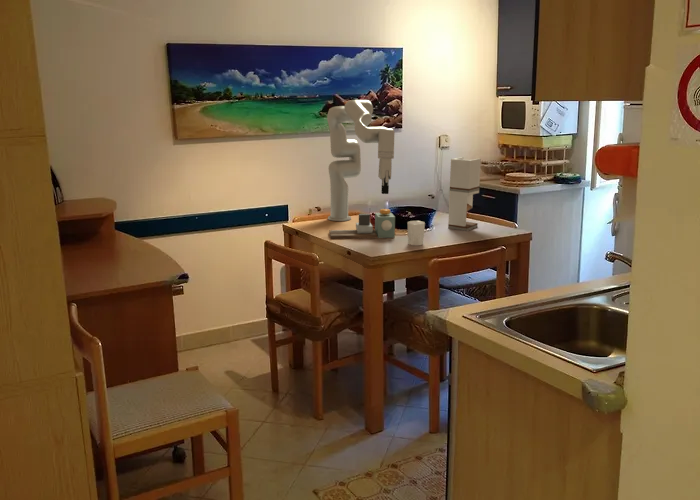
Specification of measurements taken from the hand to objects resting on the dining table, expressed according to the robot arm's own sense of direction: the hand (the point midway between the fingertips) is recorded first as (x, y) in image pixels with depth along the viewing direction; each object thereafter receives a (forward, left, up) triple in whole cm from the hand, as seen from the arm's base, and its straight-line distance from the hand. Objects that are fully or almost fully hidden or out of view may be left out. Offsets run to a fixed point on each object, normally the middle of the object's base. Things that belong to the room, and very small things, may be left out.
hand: (384, 193), depth 316 cm
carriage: (0, -10, -18) cm, 21 cm away
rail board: (0, -15, -20) cm, 26 cm away
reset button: (0, 0, -10) cm, 10 cm away
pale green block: (0, 0, -20) cm, 20 cm away
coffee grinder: (-14, +43, -21) cm, 49 cm away
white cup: (+19, +12, -21) cm, 30 cm away
